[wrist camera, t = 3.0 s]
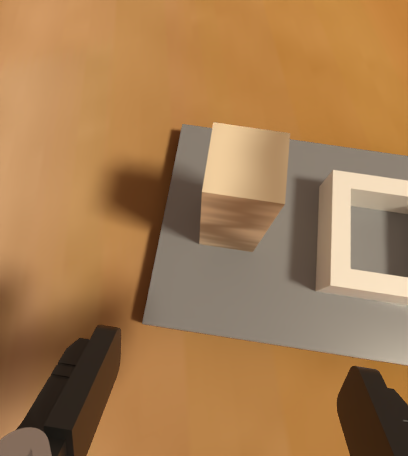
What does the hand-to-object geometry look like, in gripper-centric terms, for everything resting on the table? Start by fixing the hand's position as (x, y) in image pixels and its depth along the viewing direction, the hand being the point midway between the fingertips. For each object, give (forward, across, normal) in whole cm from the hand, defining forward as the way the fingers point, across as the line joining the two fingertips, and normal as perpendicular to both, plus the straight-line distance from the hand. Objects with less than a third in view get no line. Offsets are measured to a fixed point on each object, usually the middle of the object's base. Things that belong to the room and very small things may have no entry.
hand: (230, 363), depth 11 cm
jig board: (+18, -7, +3) cm, 19 cm away
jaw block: (+17, 0, +2) cm, 17 cm away
